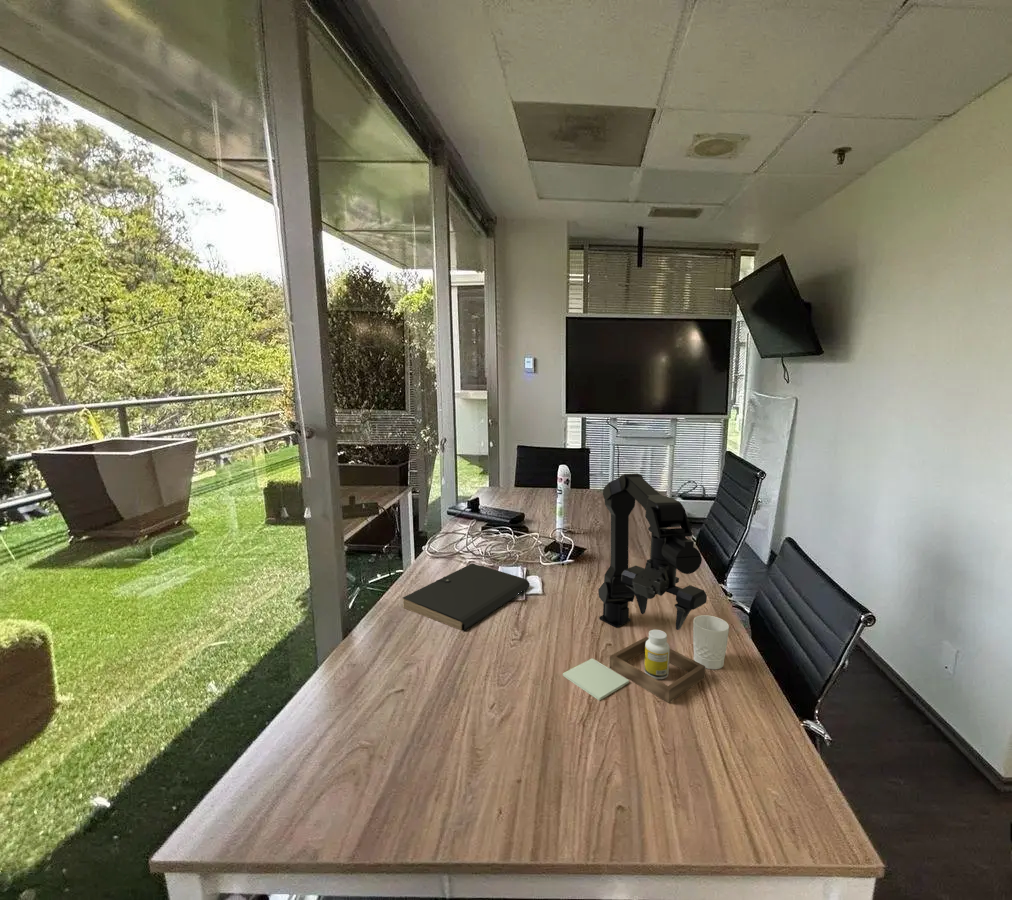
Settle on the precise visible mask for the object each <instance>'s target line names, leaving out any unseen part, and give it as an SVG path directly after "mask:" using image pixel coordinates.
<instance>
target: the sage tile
mask: <svg viewBox="0 0 1012 900" xmlns="http://www.w3.org/2000/svg"><path fill="white" fill-rule="evenodd" d="M562 677H564V678H566V680H568V681H570V682H571V683H573V684H574V685H576V687H578V688H579V689H581V690H583V691H584V692H586V693H587V694H589V695H590V696H591V697H592V698H595V699H596V700H597V701H601V700H603V699H605V698H606V697H608V696H610V695H611V694H612V693H615V692H617V690H620V689H621V688H623V687H624V686H626V685H628V684H629V683H630V680H629V679H627V678H626V677H624V676H623V675H621V674H619V673H618V672H616V671H614V670H613V669H611V668H609V667H607V666H606V665H605V664H602V663H601V662H599V661H598V660H596V659H595V658H593V657H592V658H589V659H588V660H586V661H584V662H582V663H580V664H578V665H577V666H575V667H572V668H570V669H568V670H567V671H565V672H563V673H562Z"/></svg>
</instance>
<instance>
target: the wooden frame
mask: <svg viewBox="0 0 1012 900" xmlns="http://www.w3.org/2000/svg"><path fill="white" fill-rule="evenodd" d="M648 639H649V636H648V637H647V636H645V637H643V638H641V639H639V640H637V641H635V642H633V643H632V644H630V645H628V646H626V647H624V648H622V649H621V650H618V651H617V652H614V653H612V654H610V655H609V665H608V666H609V667H608V668H609V669H611V670H613V671H614V672H616V673H618V674H619V675H621V676H623V677H624V678H626V679H628V680H629V681H631V682H633V683H634V684H636V685H638V686H639V687H640V688H642V689H644V690H646V691H647V692H649V693H651V694H653V695H654V696H656V697H658V698H659V699H661V700H662V701H664V702H666V703H668V704H670V703H671V702H673V701H674V700H676V698H679V697H680V696H681V695H683V694H684V693H685V692H687V691H688V690H690V689H691V688H692V687H694V686H695V685H698V683H700V682H701V681H702V680H704V679H705V676H706V675H705V674H706V668H705V666H704V665H702V664H700V663H698V662H696V661H694V659H692V658H689V657H688V656H686V655H684V654H681V653H679V652H678V651H676V650H673V649H672V648H670V651H669V664H671V665H673V666H675V667H677V668H678V669H681V670H682V671H683V672H686V674H684V675H682V676H681V677H679V678H678V679H676V680H675V681H673V682H672V683H670V684H669V685H667V684H665V683H663V682H662V681H660V680H659V679H655V678H653V677H651V676H650V675H648V674H646V673H645V671H643V670H641V669H639V668H637V667H636V666H634V665H633V664H630V663H628V662H629V661H631V660H632V659H634V658H636V657H638V656H640V655H641V654H644V653H645V643H646V641H647V640H648Z"/></svg>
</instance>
